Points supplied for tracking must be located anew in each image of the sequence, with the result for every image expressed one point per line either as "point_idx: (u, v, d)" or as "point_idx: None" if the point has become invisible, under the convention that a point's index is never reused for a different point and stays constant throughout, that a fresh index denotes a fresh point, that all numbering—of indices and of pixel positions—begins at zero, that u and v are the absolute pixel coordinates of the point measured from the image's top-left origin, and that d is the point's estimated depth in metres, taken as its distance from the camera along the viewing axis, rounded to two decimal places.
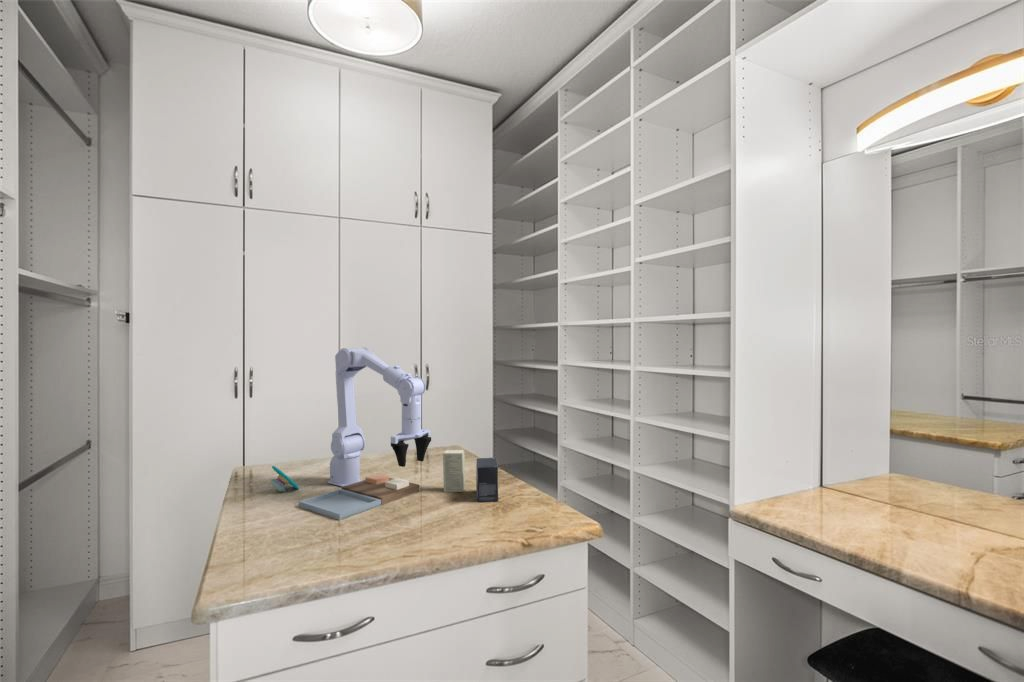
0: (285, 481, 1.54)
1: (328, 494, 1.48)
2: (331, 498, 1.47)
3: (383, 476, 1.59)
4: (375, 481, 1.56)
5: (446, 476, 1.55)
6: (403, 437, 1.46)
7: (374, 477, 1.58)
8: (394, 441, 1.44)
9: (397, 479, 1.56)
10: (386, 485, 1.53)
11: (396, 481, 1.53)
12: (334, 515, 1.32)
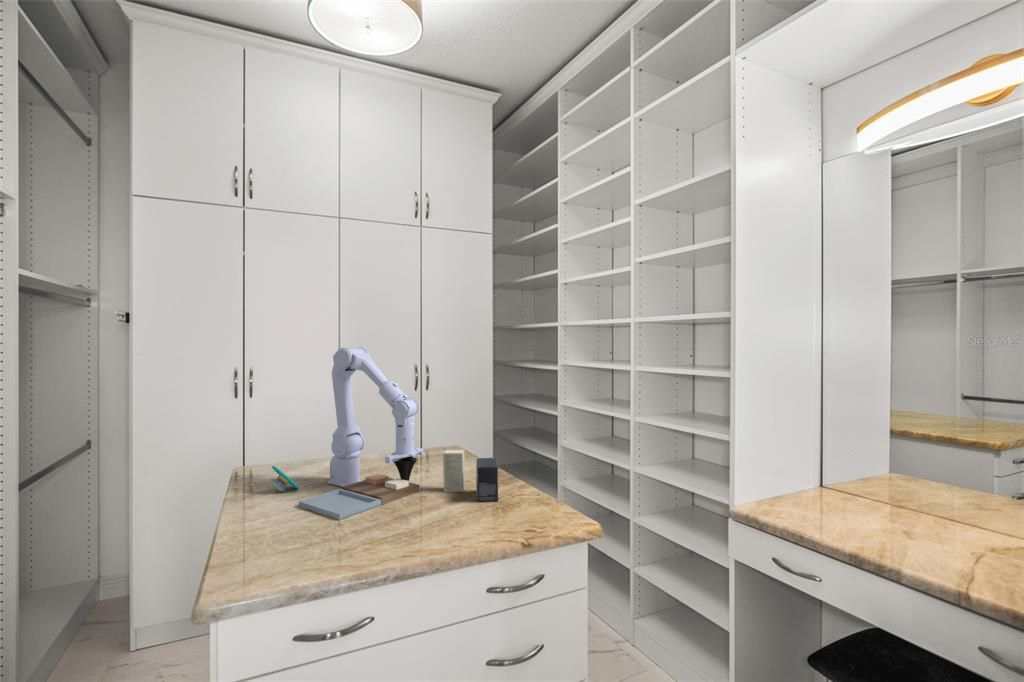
0: (285, 481, 1.54)
1: (328, 494, 1.48)
2: (331, 498, 1.47)
3: (383, 476, 1.59)
4: (375, 481, 1.56)
5: (446, 476, 1.55)
6: (397, 457, 1.52)
7: (374, 477, 1.58)
8: (388, 461, 1.50)
9: (397, 479, 1.56)
10: (386, 485, 1.53)
11: (396, 481, 1.53)
12: (334, 515, 1.32)
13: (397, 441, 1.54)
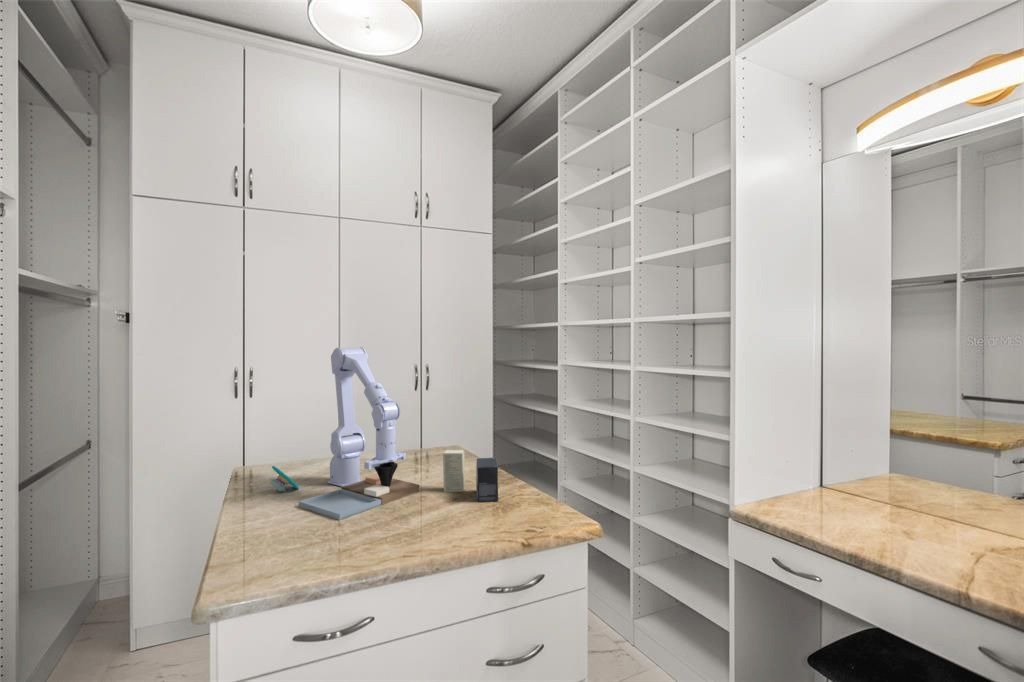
0: (285, 481, 1.54)
1: (328, 494, 1.48)
2: (331, 498, 1.47)
3: None
4: (375, 481, 1.56)
5: (446, 476, 1.55)
6: (377, 462, 1.45)
7: (374, 477, 1.58)
8: (367, 467, 1.44)
9: (377, 485, 1.49)
10: (365, 492, 1.46)
11: (376, 488, 1.47)
12: (334, 515, 1.32)
13: (377, 446, 1.48)
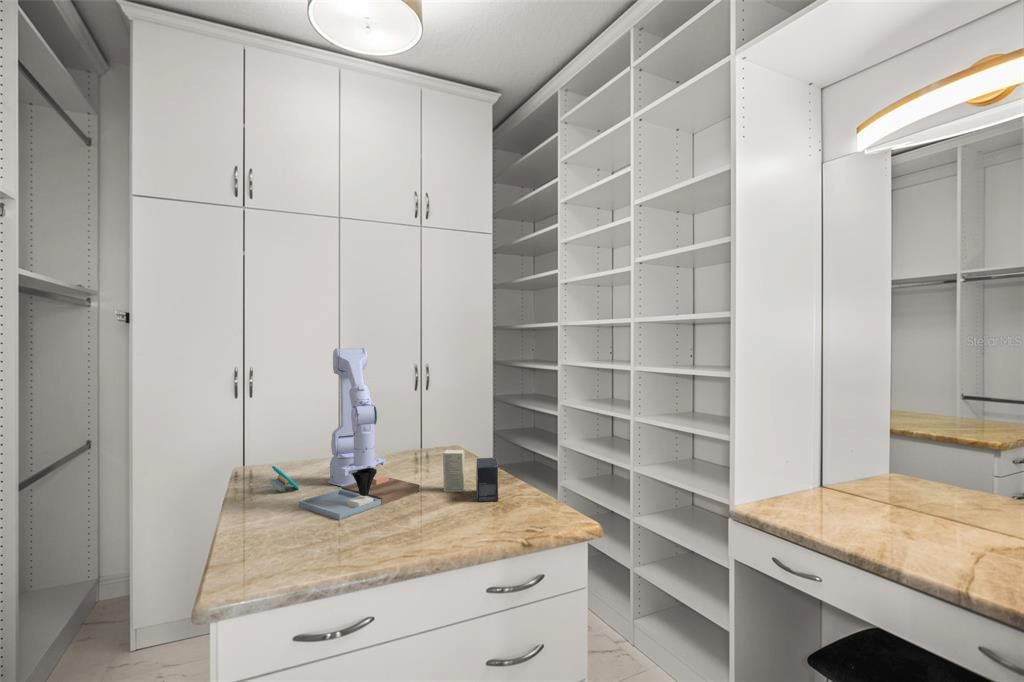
0: (285, 481, 1.54)
1: (328, 494, 1.48)
2: (331, 498, 1.47)
3: (383, 476, 1.59)
4: (375, 481, 1.56)
5: (446, 476, 1.55)
6: (354, 468, 1.38)
7: (374, 477, 1.58)
8: (344, 473, 1.37)
9: (361, 496, 1.44)
10: (348, 503, 1.41)
11: (359, 499, 1.42)
12: (334, 515, 1.32)
13: (355, 451, 1.41)
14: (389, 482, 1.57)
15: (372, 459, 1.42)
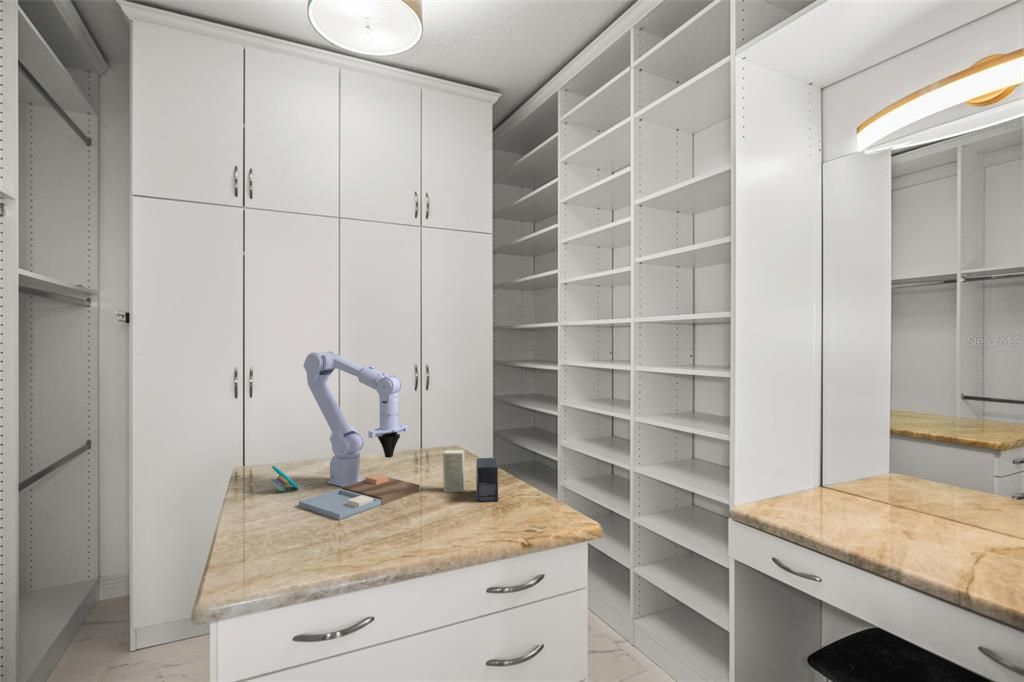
0: (285, 481, 1.54)
1: (328, 494, 1.48)
2: (331, 498, 1.47)
3: (383, 476, 1.59)
4: (375, 481, 1.56)
5: (446, 476, 1.55)
6: (380, 432, 1.55)
7: (374, 477, 1.58)
8: (371, 436, 1.54)
9: (361, 496, 1.44)
10: (348, 503, 1.41)
11: (359, 499, 1.42)
12: (334, 515, 1.32)
13: (381, 417, 1.58)
14: (389, 482, 1.57)
15: (396, 424, 1.59)
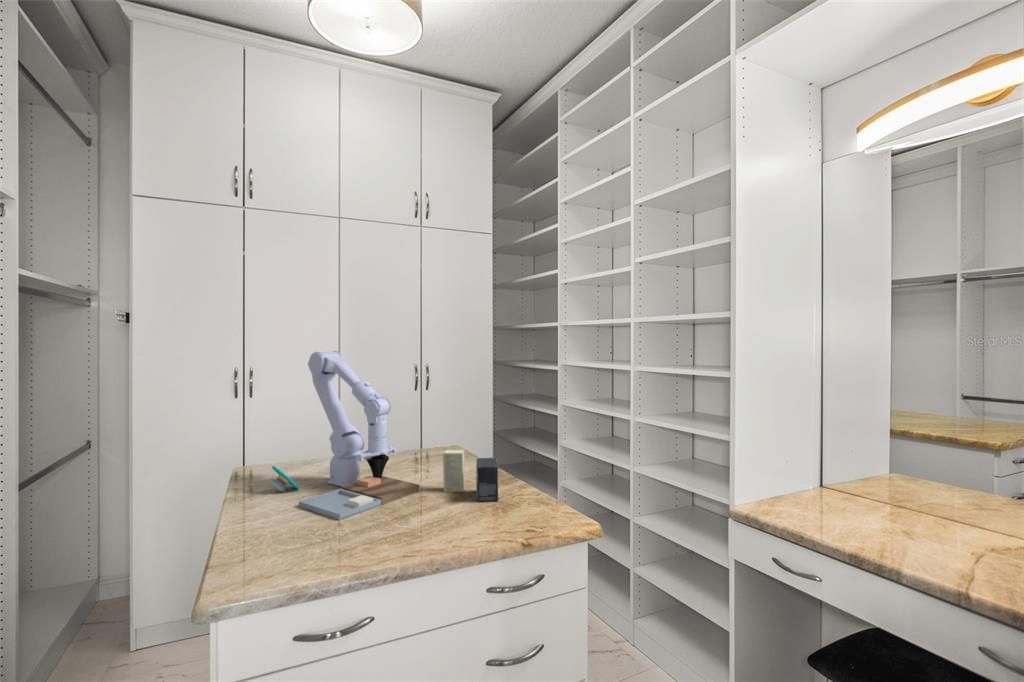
0: (285, 481, 1.54)
1: (328, 494, 1.48)
2: (331, 498, 1.47)
3: (375, 478, 1.56)
4: (366, 484, 1.53)
5: (446, 476, 1.55)
6: (369, 455, 1.54)
7: (366, 480, 1.55)
8: (360, 459, 1.52)
9: (361, 496, 1.44)
10: (348, 503, 1.41)
11: (359, 499, 1.42)
12: (334, 515, 1.32)
13: (369, 439, 1.57)
14: (389, 482, 1.57)
15: (385, 447, 1.58)
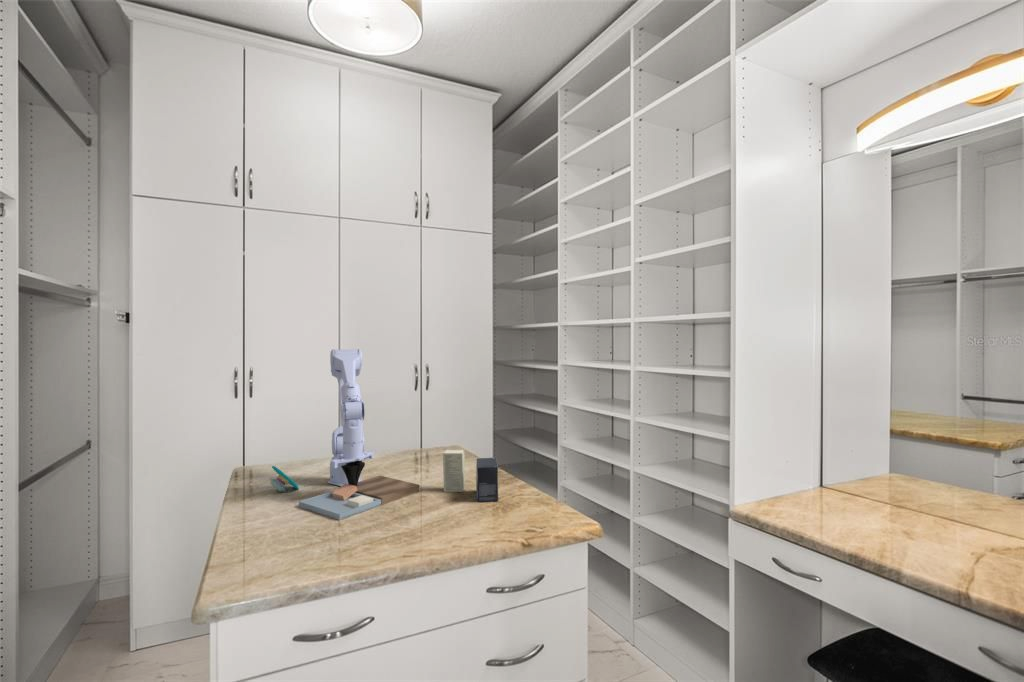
0: (285, 481, 1.54)
1: (328, 494, 1.48)
2: (331, 498, 1.47)
3: (350, 488, 1.48)
4: (342, 497, 1.45)
5: (446, 476, 1.55)
6: (343, 461, 1.46)
7: (341, 491, 1.47)
8: (333, 466, 1.45)
9: (361, 496, 1.44)
10: (348, 503, 1.41)
11: (359, 499, 1.42)
12: (334, 515, 1.32)
13: (344, 445, 1.49)
14: (389, 482, 1.57)
15: (360, 452, 1.50)
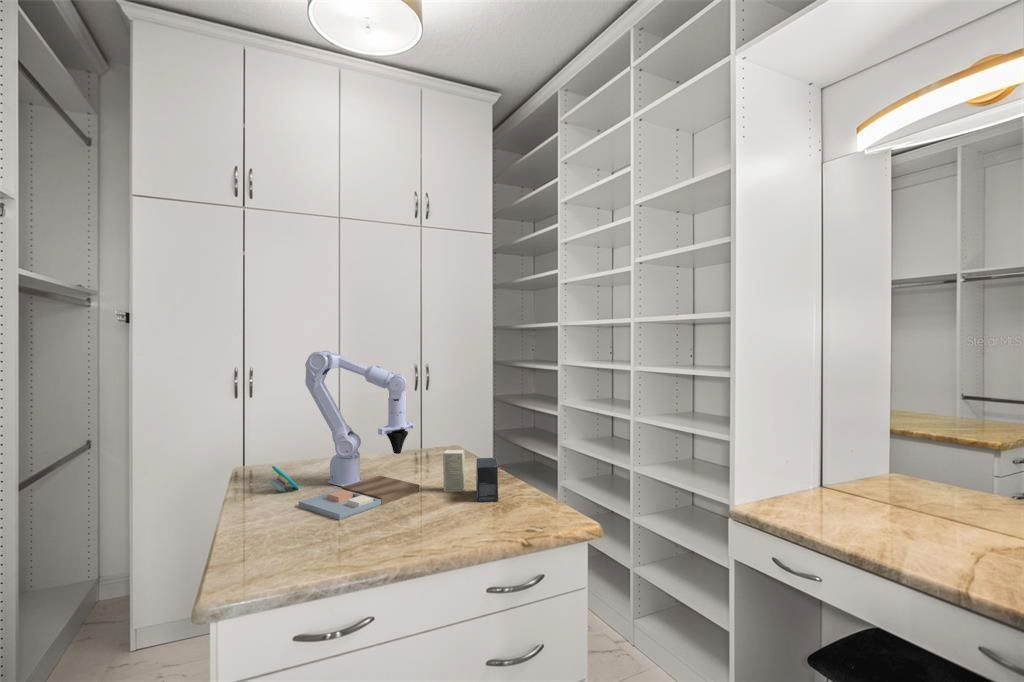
0: (285, 481, 1.54)
1: None
2: None
3: (347, 493, 1.47)
4: (337, 498, 1.44)
5: (446, 476, 1.55)
6: (389, 429, 1.60)
7: (337, 494, 1.46)
8: (381, 432, 1.59)
9: (361, 496, 1.44)
10: (348, 503, 1.41)
11: (359, 499, 1.42)
12: (334, 515, 1.32)
13: (389, 414, 1.63)
14: (389, 482, 1.57)
15: (404, 422, 1.64)
